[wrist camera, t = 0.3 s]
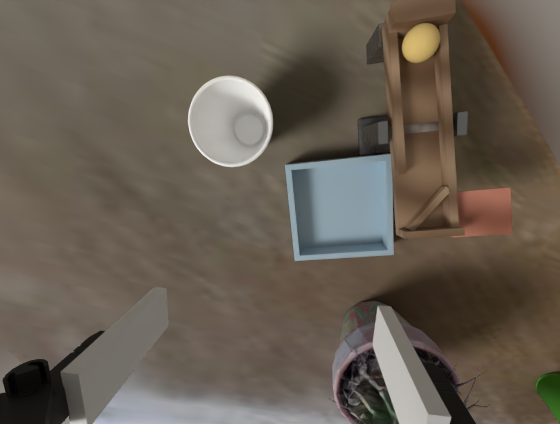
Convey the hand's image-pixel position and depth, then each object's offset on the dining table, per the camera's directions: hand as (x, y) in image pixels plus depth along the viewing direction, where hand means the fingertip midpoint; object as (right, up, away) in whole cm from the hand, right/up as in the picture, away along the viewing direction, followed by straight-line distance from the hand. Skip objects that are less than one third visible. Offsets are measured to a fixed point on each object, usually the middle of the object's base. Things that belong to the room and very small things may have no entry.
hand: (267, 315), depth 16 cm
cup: (-4, +19, +24) cm, 31 cm away
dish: (+10, +7, +26) cm, 28 cm away
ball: (+15, +24, +11) cm, 31 cm away
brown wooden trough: (+19, +16, +14) cm, 29 cm away
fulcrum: (+17, +18, +22) cm, 33 cm away
